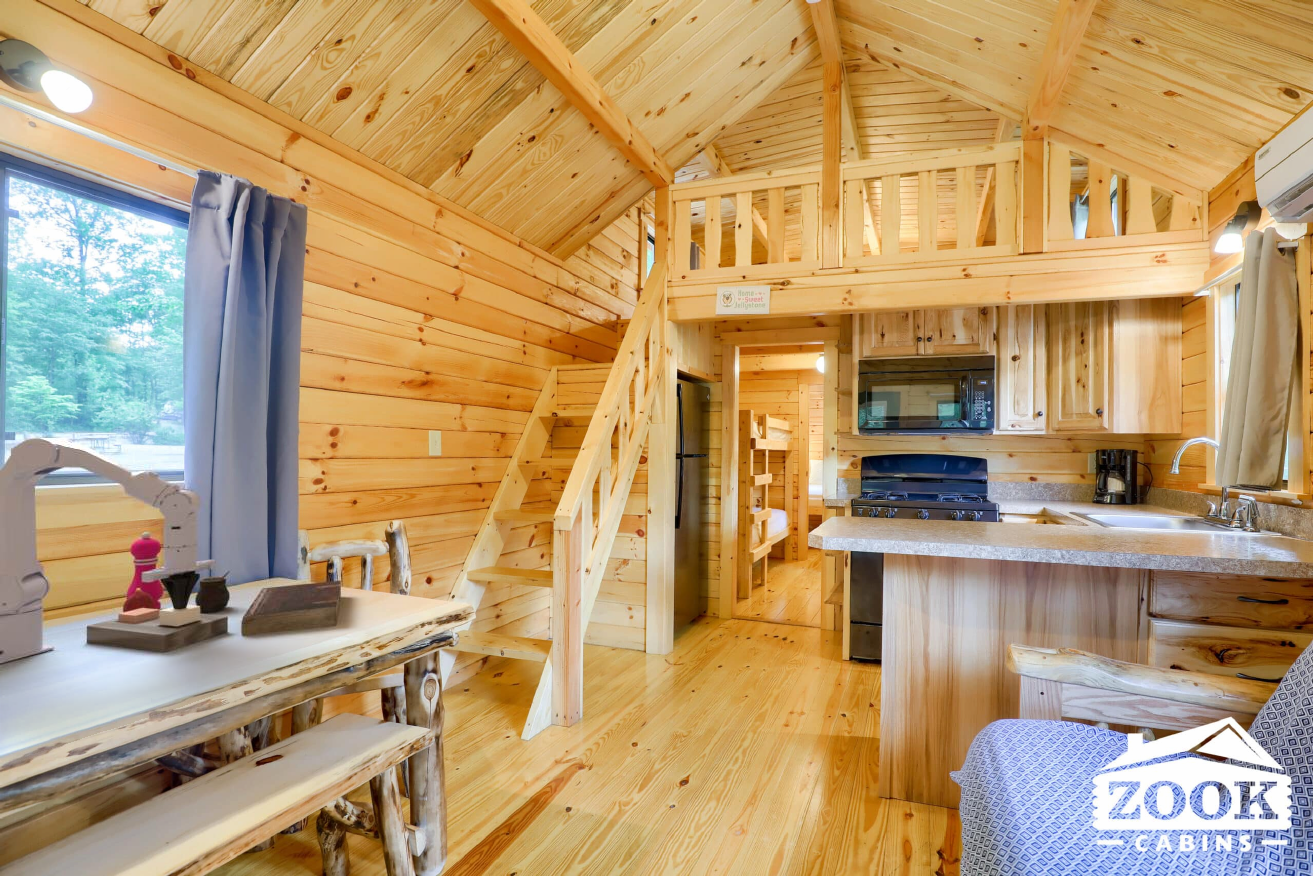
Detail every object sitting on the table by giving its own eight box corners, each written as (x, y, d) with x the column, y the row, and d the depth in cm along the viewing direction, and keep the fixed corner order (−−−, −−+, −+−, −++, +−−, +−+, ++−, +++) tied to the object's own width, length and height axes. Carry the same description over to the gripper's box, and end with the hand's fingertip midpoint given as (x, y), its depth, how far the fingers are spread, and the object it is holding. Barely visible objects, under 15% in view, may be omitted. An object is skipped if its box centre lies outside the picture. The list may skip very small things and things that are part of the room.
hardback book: (261, 605, 165) (261, 587, 165) (340, 598, 173) (340, 580, 173) (241, 638, 139) (241, 615, 139) (336, 627, 147) (336, 606, 147)
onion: (160, 619, 151) (161, 586, 151) (138, 626, 146) (139, 591, 146) (138, 618, 152) (139, 585, 152) (116, 625, 146) (116, 591, 146)
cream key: (177, 626, 133) (177, 612, 133) (159, 624, 134) (159, 610, 134) (200, 619, 138) (200, 606, 138) (182, 618, 139) (182, 604, 139)
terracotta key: (135, 629, 136) (135, 615, 136) (118, 627, 138) (118, 613, 138) (158, 623, 141) (159, 609, 141) (142, 621, 142) (142, 608, 142)
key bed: (164, 652, 128) (164, 635, 128) (86, 642, 134) (86, 626, 134) (227, 632, 142) (227, 616, 142) (154, 623, 147) (154, 609, 147)
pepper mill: (141, 616, 153) (142, 535, 153) (118, 614, 155) (119, 533, 155) (170, 608, 160) (171, 530, 160) (148, 606, 162) (149, 529, 162)
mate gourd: (202, 607, 162) (203, 568, 162) (235, 605, 164) (236, 567, 164) (189, 614, 155) (190, 574, 155) (224, 613, 157) (225, 573, 157)
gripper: (160, 552, 128) (159, 619, 128) (225, 541, 142) (225, 601, 142) (134, 550, 130) (134, 616, 130) (201, 539, 144) (201, 599, 144)
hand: (180, 608), depth 136 cm, fingers closed
